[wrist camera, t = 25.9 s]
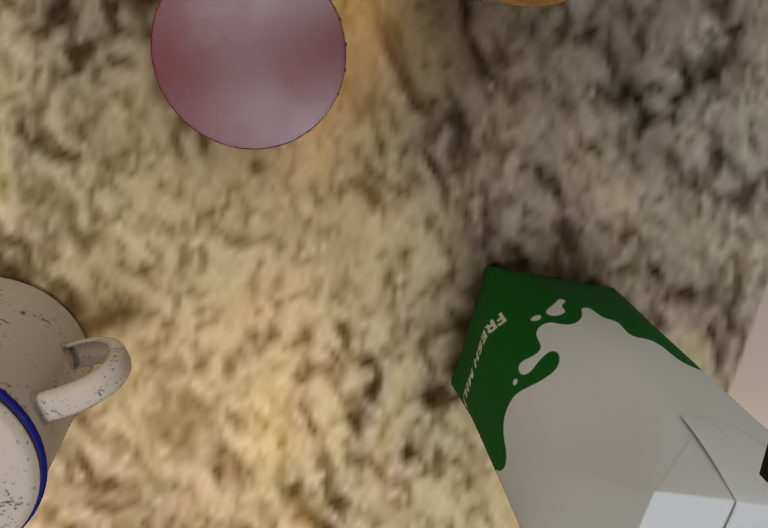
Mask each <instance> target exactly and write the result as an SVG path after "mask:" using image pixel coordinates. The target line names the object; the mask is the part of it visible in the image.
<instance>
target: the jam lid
mask: <svg viewBox="0 0 768 528" xmlns="http://www.w3.org/2000/svg"><path fill="white" fill-rule="evenodd" d="M340 21H341V18H340V17H338V14H337V12H336V10H335V8H334V6H333V4H332V2H331V1H330V0H161V1H160V3H159V6H158V8H156V13H155V17H154V21H153V25H152V32H151V36H150V37H151V56H152V64H153V68H154V72H155V75H156V78H157V81H158V83H159V86H160V88H161V90H162V92H163V94H164V96H165V98H166V99H167V101H168V102H169V104H170V105H171V107H172V108H173V109H174V111H175V112H176V113H177V114H178V115H179V116H180V117H181V118H182V119H183V121H185V122H186V123H187V124H188V125H189V126H191V127H192V128H193V129H194V130H196V131H197V132H199V133H200V134H202V135H203V136H205V137H207V138H209V139H211V140H213V141H215V142H218V143H221V144H224V145H227V146H231V147H235V148H241V149H266V148H272V147H277V146H280V145H283V144H286V143H289V142H291V141H293V140H295V139H297V138H299V137H301V136H302V135H304V134H305V133H307V132H309V131H310V130H311V129H312V128H313V127H314V126H316V125H317V124H318V123H319V122H320V121H321V120H322V118H323V117H324V116H326V114H327V112H328V111H329V109H330V108H331V106H332V105H333V103H334V101H335V99H336V97H337V95H339V90H340V87H341V85H342V81H343V77H344V72H345V71H346V68H345V63H346V46H347V43H346V42H345V39H344V32H343V29H342V26H341V22H340Z"/></svg>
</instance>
